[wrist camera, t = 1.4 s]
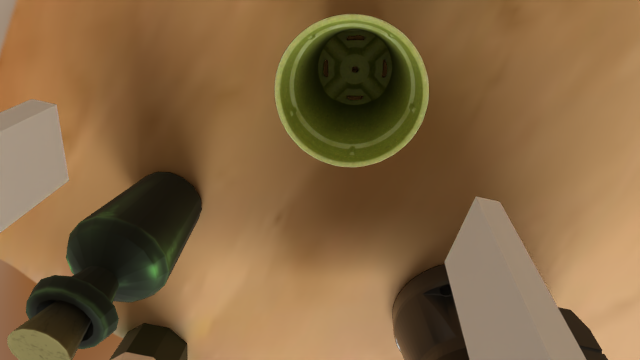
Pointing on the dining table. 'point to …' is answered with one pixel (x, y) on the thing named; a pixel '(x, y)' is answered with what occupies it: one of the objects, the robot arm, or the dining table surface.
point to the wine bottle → (151, 345)
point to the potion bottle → (109, 267)
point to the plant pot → (351, 90)
